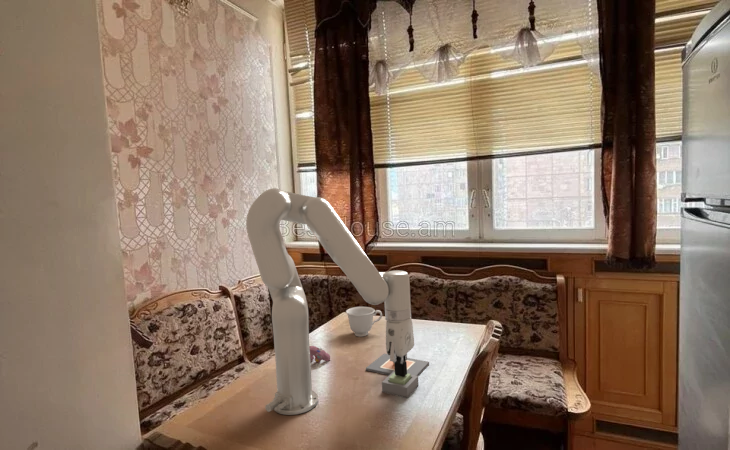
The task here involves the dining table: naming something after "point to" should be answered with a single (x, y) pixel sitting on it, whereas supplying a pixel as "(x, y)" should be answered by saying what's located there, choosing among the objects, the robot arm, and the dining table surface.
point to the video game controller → (318, 354)
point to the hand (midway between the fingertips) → (401, 374)
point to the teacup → (362, 319)
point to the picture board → (386, 366)
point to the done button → (399, 379)
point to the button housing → (400, 387)
